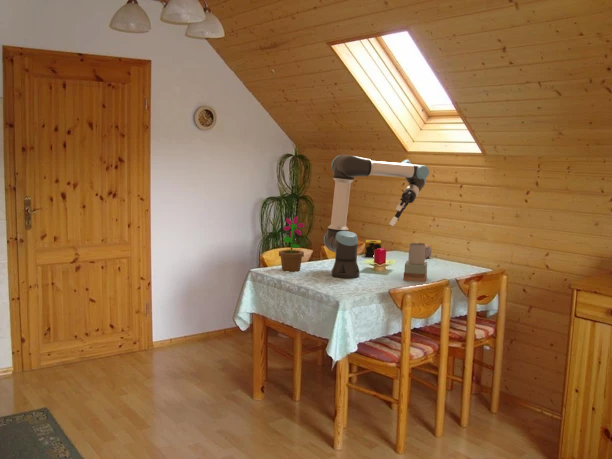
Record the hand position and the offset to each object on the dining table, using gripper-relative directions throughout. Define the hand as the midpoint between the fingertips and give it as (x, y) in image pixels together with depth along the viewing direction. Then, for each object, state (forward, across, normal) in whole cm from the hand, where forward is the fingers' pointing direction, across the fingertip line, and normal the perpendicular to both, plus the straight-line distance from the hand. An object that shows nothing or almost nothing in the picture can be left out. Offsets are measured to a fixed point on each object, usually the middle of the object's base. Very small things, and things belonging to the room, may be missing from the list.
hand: (394, 217), depth 347 cm
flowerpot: (+43, +32, +35) cm, 64 cm away
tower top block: (+18, +8, -25) cm, 32 cm away
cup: (+16, +6, -23) cm, 28 cm away
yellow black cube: (-14, +59, +4) cm, 61 cm away
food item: (-28, +53, -22) cm, 64 cm away
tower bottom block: (+21, +12, -26) cm, 36 cm away
